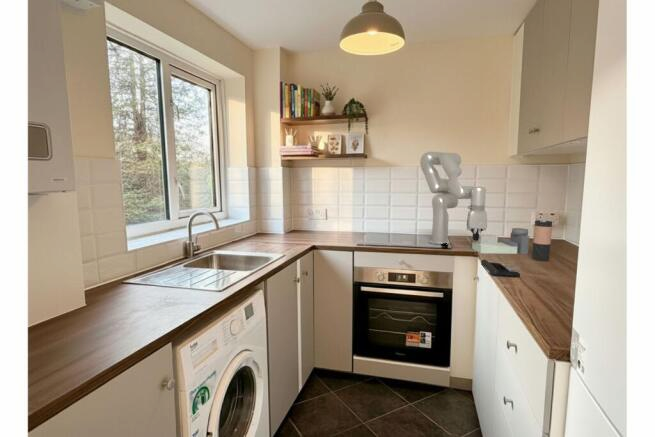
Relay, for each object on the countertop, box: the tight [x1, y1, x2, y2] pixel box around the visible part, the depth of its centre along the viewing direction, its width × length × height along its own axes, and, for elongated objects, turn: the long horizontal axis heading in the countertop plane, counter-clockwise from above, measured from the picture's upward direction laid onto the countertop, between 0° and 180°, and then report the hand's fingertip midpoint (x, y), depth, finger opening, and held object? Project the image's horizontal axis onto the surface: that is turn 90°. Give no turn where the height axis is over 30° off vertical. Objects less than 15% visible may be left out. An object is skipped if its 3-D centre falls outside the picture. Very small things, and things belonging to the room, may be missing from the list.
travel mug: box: [532, 219, 553, 262], centre depth 172 cm, size 8×8×20 cm
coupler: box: [471, 227, 530, 255], centre depth 191 cm, size 12×28×13 cm, turn 89°
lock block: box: [476, 234, 499, 245], centre depth 191 cm, size 6×9×5 cm, turn 81°
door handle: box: [479, 258, 521, 278], centre depth 150 cm, size 3×20×16 cm
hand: (475, 240), depth 191 cm, fingers closed
